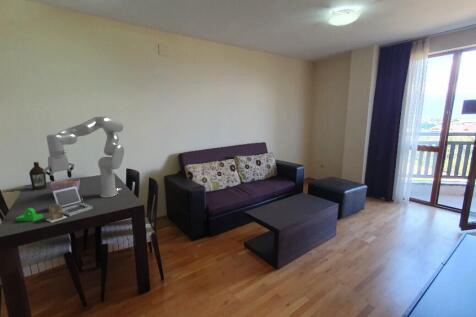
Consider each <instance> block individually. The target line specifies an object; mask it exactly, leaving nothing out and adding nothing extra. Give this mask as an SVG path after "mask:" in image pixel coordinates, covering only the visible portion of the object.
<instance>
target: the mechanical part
mask: <svg viewBox="0 0 476 317" xmlns="http://www.w3.org/2000/svg"><path fill="white" fill-rule="evenodd" d="M42 218H44V215H43V214H40V213H39V214H37V213H36V209H34V208H33V207H29V208H26V209H25V210H24V211H23V214H22V215H19V216H16V217H15V221H20V222H23V221H24V222H35V221H38V220H40V219H42Z"/></svg>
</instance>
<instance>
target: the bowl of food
mask: <svg viewBox="0 0 476 317" xmlns="http://www.w3.org/2000/svg"><path fill="white" fill-rule="evenodd" d="M80 183H81V179H79V178H65V179H59V180H54V182H53V181H51V182H50V183H49V187H50V189H51V190H52V192H53V191H57V190H61V189H66V188H70V187H75V186H76V188H77V191H78V192H79V190H80V189H79V188H80Z"/></svg>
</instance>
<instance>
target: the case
mask: <svg viewBox="0 0 476 317" xmlns="http://www.w3.org/2000/svg"><path fill="white" fill-rule="evenodd" d="M52 194H53V197H54V201H55V204H60V205H62V211H63V215H66V216H68V217H72V216H74V215H77V214H80V213H83V212H86V211H89V210H93V205H89V204H87V203H85V201H84V199H83V197H82V195H81V194H80V193H79V190H78V191H77V188H76V186H75V187H70V188H66V189H61V190H57V191H52ZM77 207H83V208H81V209H78V210H74V211H71V212H70V211H68V210H72V209H74V208H77Z"/></svg>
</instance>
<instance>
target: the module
mask: <svg viewBox="0 0 476 317" xmlns="http://www.w3.org/2000/svg"><path fill="white" fill-rule="evenodd" d="M62 208H63V207H62V205H60V204H57V203H54V204H50V205H48V213H49V218H50V219H52V220H56V219H60V218H63V215H64V214H63V211H62Z"/></svg>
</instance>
